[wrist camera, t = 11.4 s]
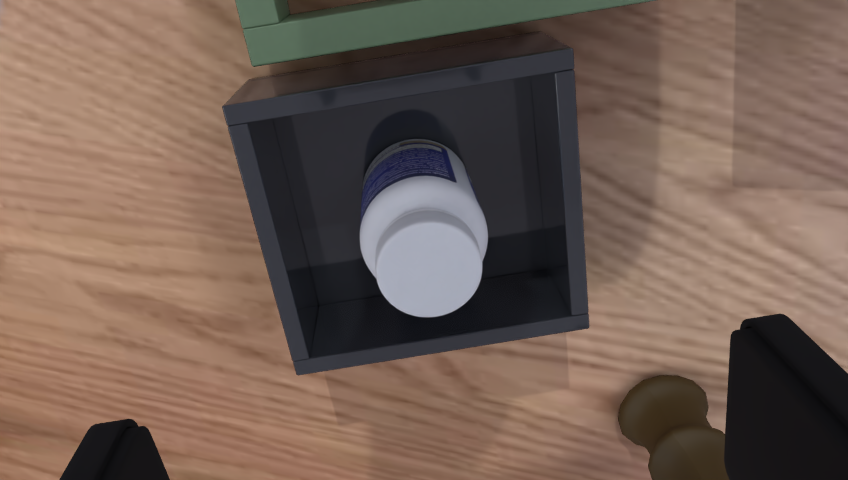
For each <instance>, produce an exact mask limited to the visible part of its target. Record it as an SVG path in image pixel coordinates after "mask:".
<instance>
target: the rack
mask: <svg viewBox="0 0 848 480" xmlns="http://www.w3.org/2000/svg"><path fill="white" fill-rule="evenodd" d="M649 1H655V0H376V1H370V2H364V3H358V4H352V5H346V6H340V7H334V8H328V9H322V10H316V11H310V12H304V13H298V14H292V15H290V11H289V7H288V2H287V0H235V2H236V5H237V9H238V13H239V17H240V21H241V25H242V28H243V29H244V30H243V33H244V37H245V41H246V44H247V48H248V52H249V56H250V60H251V64H252V66H254V67H256V66H262V65H268V64H274V63H280V62H286V61H292V60H298V59H304V58H310V57H316V56H322V55H328V54H334V53H340V52H346V51H352V50H359V49H365V48H371V47H377V46H383V45H389V44H395V43H401V42H407V41H413V40H419V39H425V38H431V37H437V36H443V35H449V34H455V33H461V32H468V31H474V30H480V29H486V28H492V27H498V26H504V25H510V24H516V23H522V22H528V21H534V20H540V19H546V18H552V17H558V16H564V15H570V14H577V13H583V12H589V11H595V10H601V9H607V8H613V7H619V6H625V5H631V4H637V3H643V2H649Z"/></svg>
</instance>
